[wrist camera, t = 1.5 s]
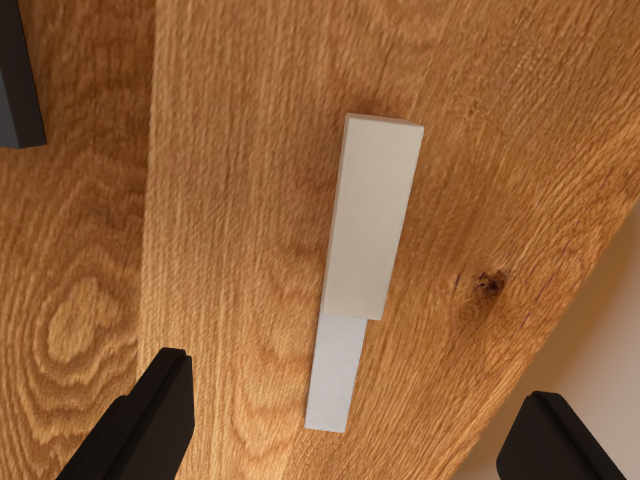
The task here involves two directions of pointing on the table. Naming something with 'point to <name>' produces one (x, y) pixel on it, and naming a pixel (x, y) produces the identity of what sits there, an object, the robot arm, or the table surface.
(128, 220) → the table surface
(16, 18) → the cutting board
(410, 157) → the white stepped bar
